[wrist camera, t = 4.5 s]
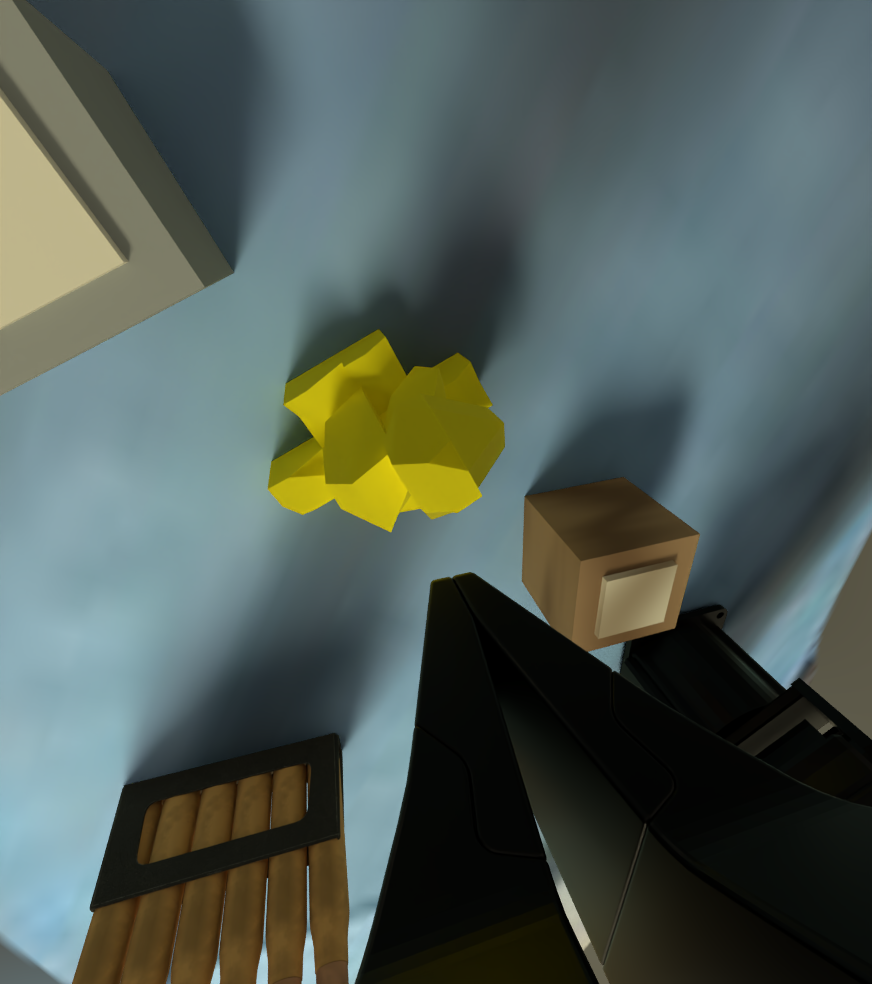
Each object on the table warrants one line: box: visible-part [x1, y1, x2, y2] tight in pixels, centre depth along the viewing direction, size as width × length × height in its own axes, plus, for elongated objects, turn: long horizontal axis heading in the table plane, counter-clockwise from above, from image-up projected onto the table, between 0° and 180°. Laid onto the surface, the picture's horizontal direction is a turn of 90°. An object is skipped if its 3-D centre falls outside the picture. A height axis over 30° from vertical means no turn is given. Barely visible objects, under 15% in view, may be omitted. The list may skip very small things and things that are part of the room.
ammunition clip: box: [72, 733, 349, 984], centre depth 20 cm, size 11×2×12 cm, turn 92°
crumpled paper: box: [268, 329, 505, 532], centre depth 14 cm, size 6×8×8 cm
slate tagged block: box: [0, 0, 234, 395], centre depth 11 cm, size 5×5×5 cm
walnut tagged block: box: [522, 477, 700, 652], centre depth 20 cm, size 5×5×5 cm
